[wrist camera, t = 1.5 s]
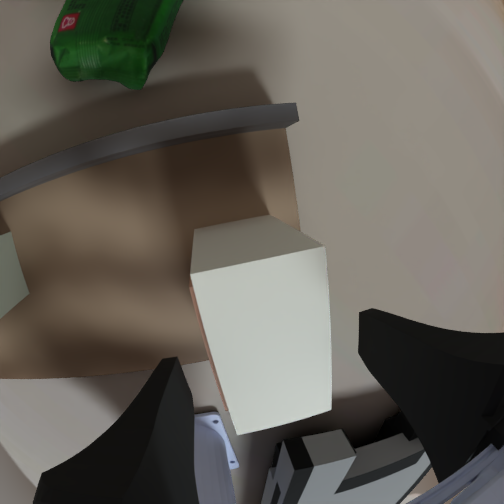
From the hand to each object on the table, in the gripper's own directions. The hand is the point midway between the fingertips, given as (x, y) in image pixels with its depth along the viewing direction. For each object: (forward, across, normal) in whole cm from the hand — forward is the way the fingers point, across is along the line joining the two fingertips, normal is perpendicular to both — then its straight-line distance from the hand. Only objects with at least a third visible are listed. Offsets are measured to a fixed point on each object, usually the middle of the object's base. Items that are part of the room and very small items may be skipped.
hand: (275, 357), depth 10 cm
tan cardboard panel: (+9, +10, -2) cm, 14 cm away
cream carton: (+8, 0, 0) cm, 8 cm away
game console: (+9, -7, +31) cm, 33 cm away
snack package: (+9, +4, -21) cm, 23 cm away
